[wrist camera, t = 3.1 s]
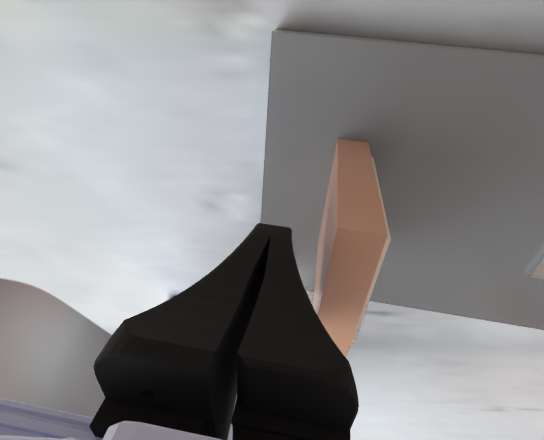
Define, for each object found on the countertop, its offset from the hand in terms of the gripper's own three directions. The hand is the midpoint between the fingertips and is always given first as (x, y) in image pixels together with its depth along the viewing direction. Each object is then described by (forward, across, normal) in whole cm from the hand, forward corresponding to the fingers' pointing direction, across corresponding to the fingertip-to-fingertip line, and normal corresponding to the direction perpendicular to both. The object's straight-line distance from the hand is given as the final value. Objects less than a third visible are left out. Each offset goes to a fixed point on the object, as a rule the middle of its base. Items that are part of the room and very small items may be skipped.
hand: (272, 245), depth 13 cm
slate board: (+6, -8, 0) cm, 10 cm away
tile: (+5, -3, 0) cm, 5 cm away
